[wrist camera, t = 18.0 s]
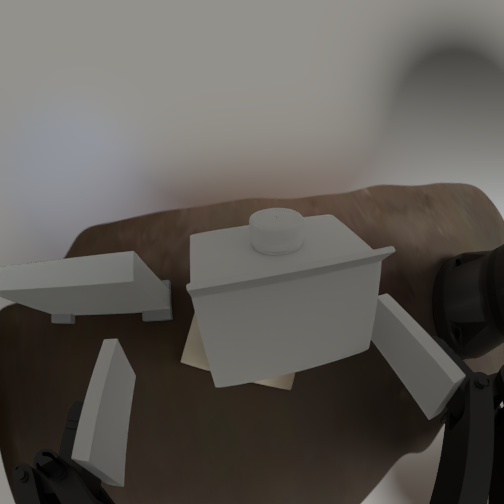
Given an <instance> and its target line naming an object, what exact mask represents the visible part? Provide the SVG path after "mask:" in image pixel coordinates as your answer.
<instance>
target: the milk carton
mask: <svg viewBox="0 0 504 504" xmlns="http://www.w3.org/2000/svg"><path fill="white" fill-rule="evenodd" d="M394 252H395V248H394V247H393V246H389V247H385V248H380V249H375V250H373V249H372V248H371V247H370V246H369V245H367V244H366V243H365V242H364V241H363V240H362V239H361V238H359V237H358V236H357V235H356V234H355V233H354V232H352V231H351V230H350V229H349V228H348V227H347V226H345V225H344V224H343V223H342V222H341V221H339V220H338V219H337V218H336V217H334V216H333V215H319V216H310V217H302V215H301V214H300V213H298V212H297V211H294V210H292V209H287V208H270V209H264V210H260V211H258V212H255V213H253V214H252V215H251V217H250V218H249V225H247V226H240V227H233V228H227V229H220V230H214V231H209V232H203V233H198V234H193V235H190V283H189V284H187V285H186V289H187V291H188V293H189V294H190V295H191V298H192V302H193V306H194V310H195V314H196V318H197V322H198V326H199V330H200V334H201V338H202V341H203V345H204V349H205V353H206V356H207V360H208V363H209V367H210V370H211V374H212V377H213V380H214V384H215V387H227V386H234V385H239V384H245V383H250V382H255V381H260V380H265V379H269V378H274V377H278V376H282V375H286V374H290V373H294V372H298V371H302V370H306V369H310V368H313V367H317V366H320V365H324V364H327V363H330V362H334V361H337V360H340V359H343V358H346V357H349V356H352V355H355V354H358V353H361V352H363V351H366V350H368V349H369V346H370V341H371V336H372V331H373V325H374V319H375V313H376V306H377V299H378V292H379V284H380V275H381V265H382V260H384V259H385V258H386V257H388V256H389V255H391V254H392V253H394Z"/></svg>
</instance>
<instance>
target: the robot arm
mask: <svg viewBox="0 0 504 504" xmlns="http://www.w3.org/2000/svg"><path fill="white" fill-rule="evenodd" d="M433 312H434V319H435V324H436V328H437V331H438V334H439V337H440V338H439V337H437V336H435V335H434V336H432V337H430V336H429V334H428V333H427V332H426V331H425V330H424V329H423V328H422V327H421V326H420V325H419V324H418V323H417V322H416V321H415V320H414V319H413V318H412V317H411V316H410V315H409V314H408V313H407V312H406V311H405V310H404V309H403V308H402V307H401V306H400V305H399V304H398V303H397V302H396V301H395V300H394V299H393V298H392V297H391V296H390V295H389V294H388V293H387V294H383V295H379V296H378V299H377V306H376V313H375V319H374V325H373V331H372V336H371V340H372V342H373V343H374V344H375V346H376V347H377V348H378V350H379V351H380V352H381V354H382V355H383V356H384V358H385V359H386V360H387V362H388V363H389V364H390V366H391V367H392V369H393V370H394V371H395V373H396V374H397V375H398V377H399V378H400V380H401V381H402V382H403V384H404V385H405V387H406V388H407V389H408V391H409V392H410V394H411V395H412V396H413V398H414V399H415V401H416V402H417V404H418V405H419V407H420V408H421V409H422V411H423V412H424V414H425V415H426V417H427V418H428V420H430V419H432V418H433V417H435V416H437V415H438V414H440V413H441V412H442V410H443V409H444V408H445V406H446V407H447V408H448V410H447V412H446V413H445V414H444V416H443V417H442V418H441V420H440V423H442V422H443V421H444V419H445V418H446V421H445V422H444V423H445V431H444V439H443V445H442V452H441V457H440V463H439V468H438V472H437V477H436V481H435V485H434V489H433V493H432V496H431V500H430V504H487V500H488V494H489V504H504V407H503V408H501V406H500V404H501V402H502V401H503V404H504V365H503V366H502V367H501V369H500V370H499V372H498V373H495V374H491V375H486V374H485V373H482V372H476V373H474V372H473V371H472V370H471V369H470V368H469V367H468V366H467V365H466V364H465V362H464V361H463V360H462V359H471V358H478V357H481V356H483V355H485V354H486V353H488V352H490V351H491V350H493V349H494V348H496V347H498V346H499V345H501V344H502V343H504V244H503V245H502V246H500V247H498V248H496V249H494V250H492V251H480V252H467V253H462V254H459V255H457V256H455V257H454V258H452V259H450V260H448V261H447V262H446V263H445V264H444V265H443V266H442V268H441V269H440V271H439V273H438V275H437V278H436V282H435V286H434V293H433ZM135 379H136V375H135V373H134V371H133V369H132V367H131V365H130V363H129V361H128V359H127V357H126V355H125V353H124V351H123V349H122V347H121V345H120V343H119V341H118V339H104V341H103V344H102V347H101V350H100V352H99V355H98V358H97V361H96V364H95V367H94V371H93V374H92V377H91V380H90V383H89V387H88V390H87V394H86V397H85V401H84V402H75V404H74V405H73V407H72V408H71V409H70V412H69V415H68V419H67V420H68V422H67V423H66V426H65V428H66V429H65V430H64V434H63V438H62V443H61V447H60V451H59V455H57V454H56V453H55V452H53V451H52V450H49V449H44V450H40V451H39V452H38V453H37V454H36V456H35V458H34V468H32V467H30V466H29V465H28V464H26V463H18V464H17V465H16V466H15V467H14V469H13V482H14V488H15V493H16V497H17V502H18V504H115V503H114V502H113V501H112V499H111V498H110V497H109V495H108V494H107V493H106V491H105V490H104V489H103V488H102V487H101V480H102V481H103V482H105V483H106V484H108V485H115V486H122V487H124V473H125V458H126V447H127V437H128V428H129V419H130V412H131V404H132V398H133V391H134V385H135Z"/></svg>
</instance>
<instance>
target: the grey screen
mask: <svg viewBox="0 0 504 504" xmlns="http://www.w3.org/2000/svg"><path fill="white" fill-rule="evenodd" d="M0 296H1V297H3V298H6V299H8V300H11V301H14V302H16V303H19V304H22V305H25V306H28V307H31V308H34V309H37V310H40V311H43V312H46V313H50V314H51V323H55V324H75V315H99V314H123V313H141V312H142V317H143V321H145V322H149V321H165V320H173V312H172V298H171V282H170V281H169V280H160V279H159V278H158V277H157V276H156V275H155V274H154V273H153V272H152V271H151V270H150V269H149V267H148V266H147V265H146V264H145V263H144V262H143V261H142V260H141V259H140V258H139V256H138V255H137V254H136V253H135V252H134V251H128V252H119V253H110V254H101V255H92V256H84V257H75V258H67V259H60V260H51V261H43V262H35V263H27V264H19V265H11V266H5V267H0Z"/></svg>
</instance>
